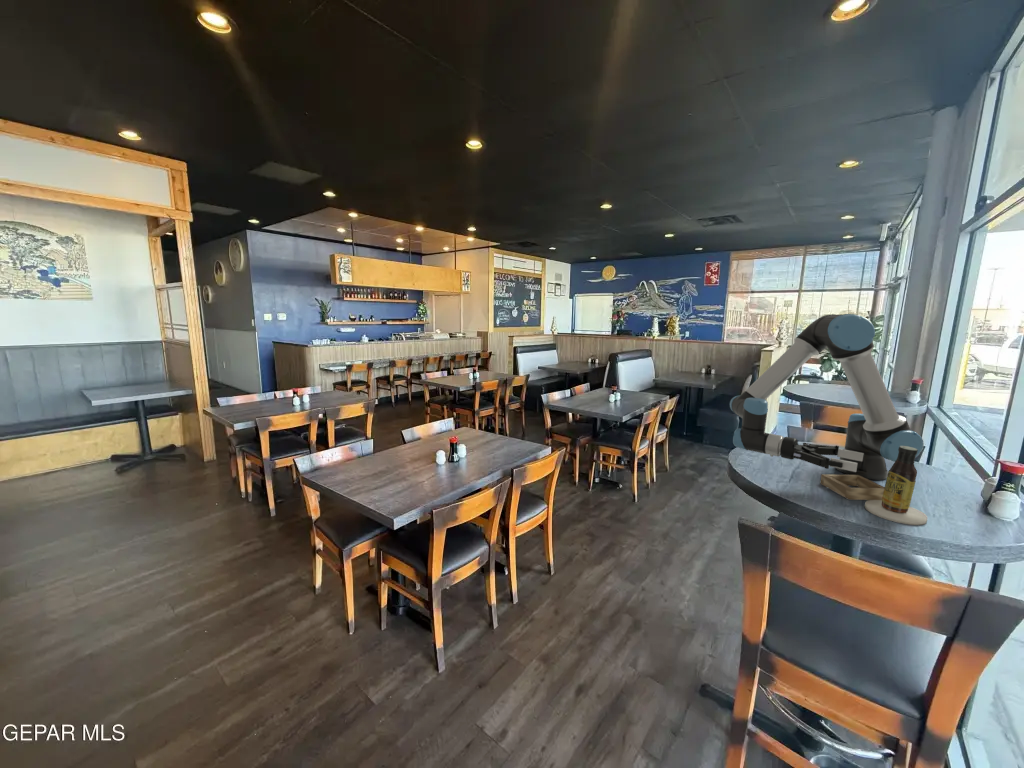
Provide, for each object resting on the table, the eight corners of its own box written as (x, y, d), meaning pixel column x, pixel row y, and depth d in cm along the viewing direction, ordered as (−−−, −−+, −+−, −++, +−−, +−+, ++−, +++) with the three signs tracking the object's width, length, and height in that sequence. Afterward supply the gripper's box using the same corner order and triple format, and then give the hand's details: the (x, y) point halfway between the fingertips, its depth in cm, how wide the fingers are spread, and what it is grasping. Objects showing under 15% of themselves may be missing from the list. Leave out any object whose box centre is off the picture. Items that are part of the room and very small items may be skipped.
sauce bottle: (875, 505, 128) (886, 443, 125) (893, 504, 129) (904, 443, 126) (896, 515, 122) (908, 450, 119) (915, 514, 123) (927, 450, 119)
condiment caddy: (856, 484, 148) (858, 474, 147) (888, 500, 135) (890, 490, 134) (820, 483, 148) (821, 474, 147) (848, 499, 135) (850, 489, 134)
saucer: (897, 503, 132) (897, 500, 132) (941, 525, 119) (941, 521, 118) (853, 502, 133) (853, 499, 132) (891, 524, 119) (892, 520, 119)
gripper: (790, 449, 155) (863, 464, 139) (770, 465, 137) (852, 484, 122) (792, 429, 153) (866, 442, 138) (773, 443, 136) (855, 460, 121)
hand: (860, 462), depth 130 cm, fingers open, 13 cm apart
